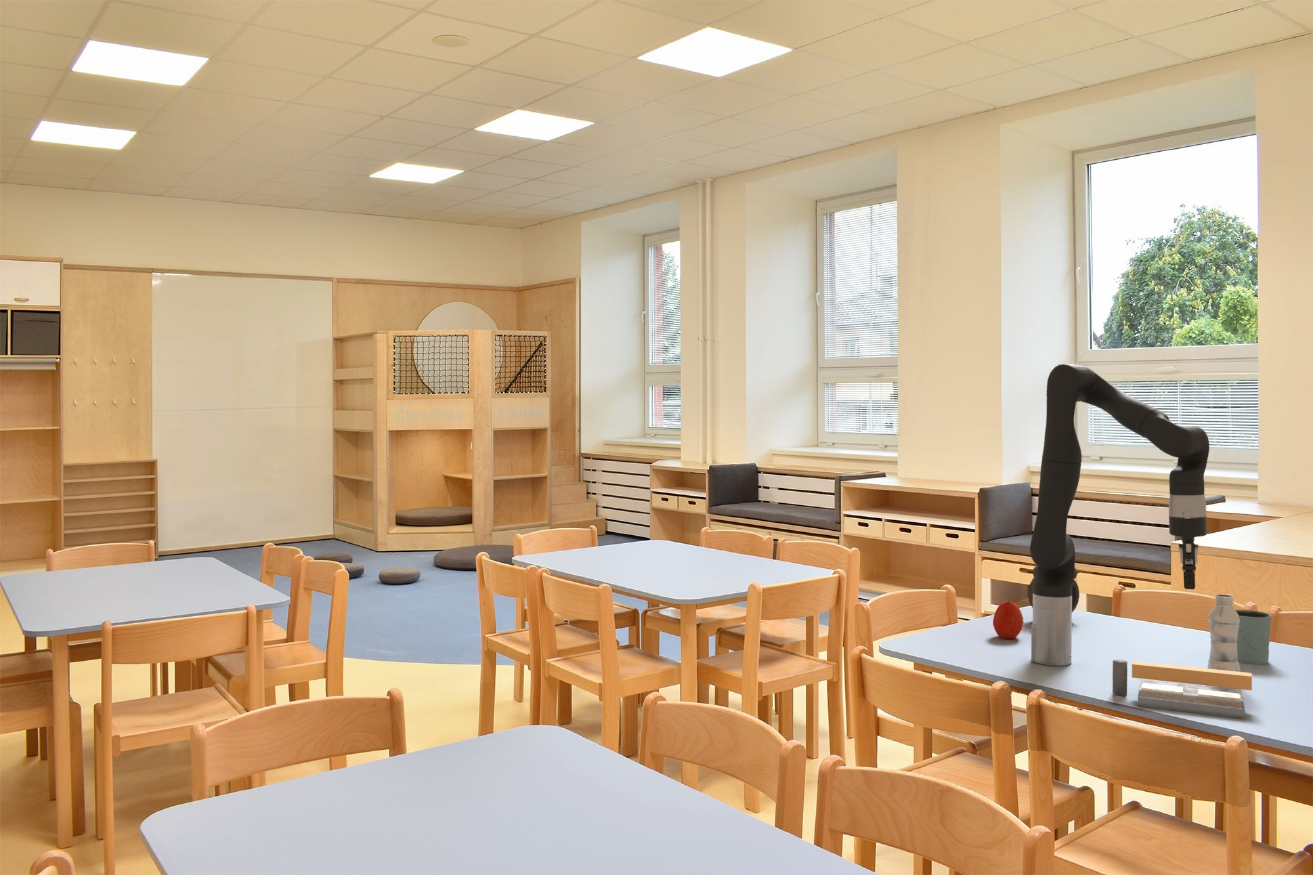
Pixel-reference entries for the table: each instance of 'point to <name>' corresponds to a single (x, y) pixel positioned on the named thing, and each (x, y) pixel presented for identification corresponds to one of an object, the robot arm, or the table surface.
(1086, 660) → the table surface
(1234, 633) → the plastic bottle
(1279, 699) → the table surface
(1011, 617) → the apple
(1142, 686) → the label board
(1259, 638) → the teal cup
